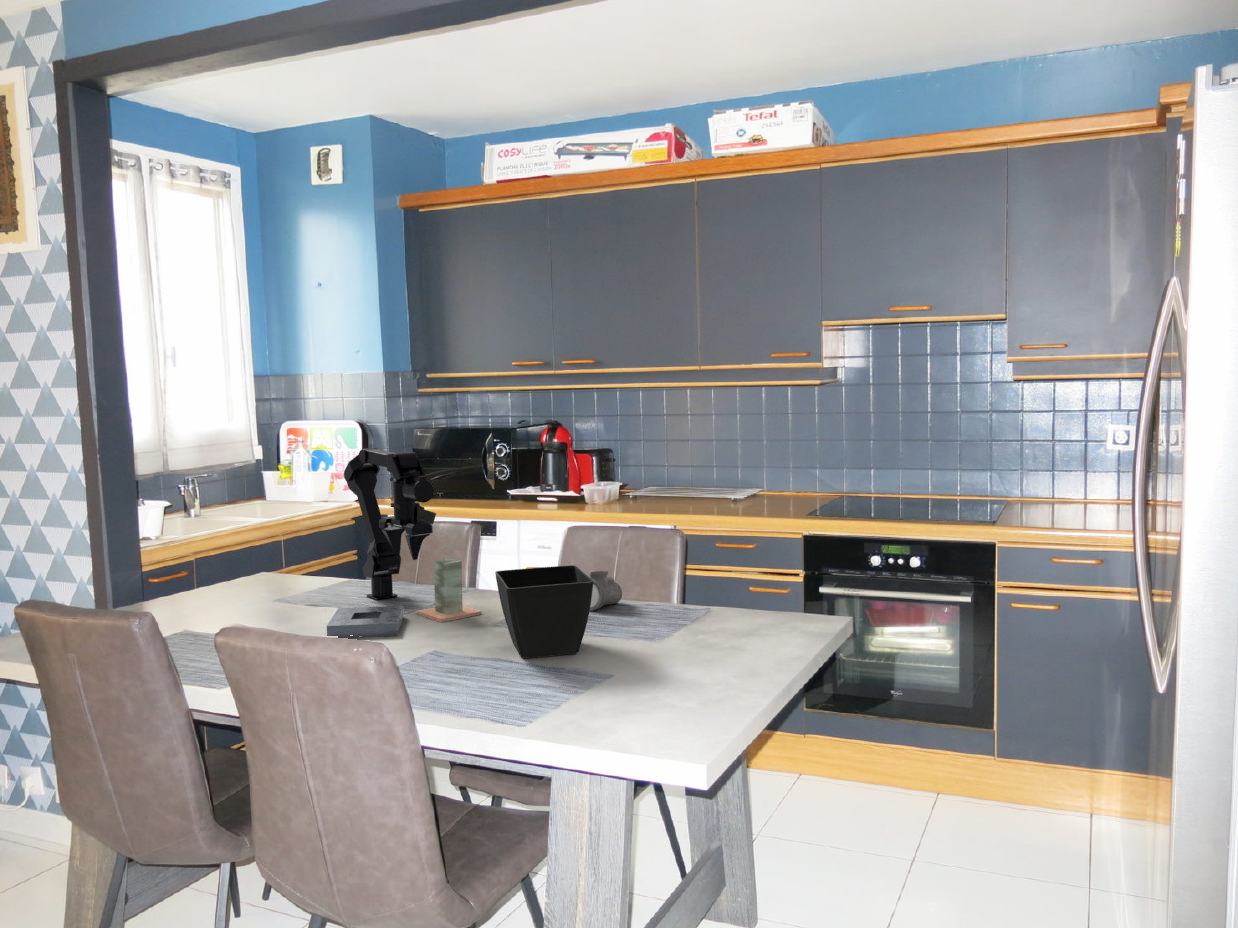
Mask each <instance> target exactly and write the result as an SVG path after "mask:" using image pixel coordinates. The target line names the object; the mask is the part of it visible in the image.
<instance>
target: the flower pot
mask: <svg viewBox="0 0 1238 928" xmlns="http://www.w3.org/2000/svg"><path fill="white" fill-rule="evenodd" d="M495 579H496V580H495V581H496V587H497V590H498V597H499V599H500V601H499V602H500V605H501V608H502V612H503V616H504V617H503V618H504V620H505V624H506V626H507V630H508V634H509V636H510V639H511V641H512V644H513V646H514V647H515V649H516V651H517V653H518V655H519V657H520V658H521V659H531V658H532V659H534V658H543V657H544V658H545V657H552V656H555V657H556V656H562V655H564V656H565V655H575V654H578V653H579V651H580V649H581V646H582V642H583V638H584V635H585V632H586V629H587V626H588V625H587V624H588V621H589V620H588V619H589V617H590V616H589V615H590V612H591V611H590V605H591V599H592V591H593V580H592V579H591V578H590V576H588V575H587V573H585V572H584V571H583V570H582V569H580V567H578V566H577V565H572V564H571V565H558V566H557V565H556V566H555V565H554V566H545V567H544V566H543V567H541V566H540V568H527V569H525V568H520V569H519V568H517V569H505V570H497V571H495Z"/></svg>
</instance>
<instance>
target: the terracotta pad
mask: <svg viewBox="0 0 1238 928" xmlns="http://www.w3.org/2000/svg"><path fill="white" fill-rule="evenodd" d="M415 612H416V613H415V614H417V615H420V616H421V617H422V616H423V617H425V618H427V619H428V618H429V619H431V620H434V621H436V622H439V623H445V622H450V621H454V620H459V619H464V618H470V617H474V616H479V615H482V610H480V609H479V610H478V609H475V608H472V607H469V606H466V605H463V611H459V612H455V613H450V614H444V613H440V612H437V611H435V606H434V607H430V608H429V607H428V608H424V609H417V610H416V611H415Z"/></svg>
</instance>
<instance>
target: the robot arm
mask: <svg viewBox="0 0 1238 928" xmlns="http://www.w3.org/2000/svg"><path fill="white" fill-rule="evenodd" d="M380 467H384V468H386V471H387V472H389V473H391V475H392V476H391V477H390V478H389V481H390V482H392V488H393V489H392V490H393V493H392V494H393V495H392V497H393V502H391V503H390V507H391V508H393V515H392V516H391V515H390V516H383V517H382V514H381V510H380V506H379V504H378V498H377V496H376V492H375V489H376V486H377V483H378V477H377V476H378V475H379V473H380V471H381V468H380ZM425 472H426V470H425V468H424V467H423V466H422V463H421V461H420V458H419V456H418V455H417V453H416V452H414V451H404V452H403V451H402V452H401V451H400V452H394V451H393V452H392V451H387V450H383V449H379V448H377V447H371V448H369V447H368V448H367V447H365V448H362V449H360V450H359V452H358V454H357V455H356V456H355V457H353V458H352V459H350V461H348V463H347V464H346V466H345V469H344V472H343V478H344V480H345V482H346V485H347V486H348V487H347V488H348V489H349V490H350V491H351V492H352V493H353V494H354V495H355V496H356V497H357V500H358V504H359V508H360V512H361V515H362V517H363V518H362V519H363V522H364V526H365V528H366V529H365V530H366V534H367V537H368V540H369V546H368V549H367V552H366V556H367V560H366V561H365V564H364V565H363V566H362V573H363V576H364V577H367V578H370V587H371V590H370V591H371V593H369V594H365V595H366V597H368V598H371V599H373V600H375V601H378V600H385V599H391V598H395V597H399V596H398V594H396V593H394V592H393V588H394V587H393V575H399V574H400V569H401V563H402V556H401V549H402V548H401V545H402V535H403V534H404V532H405V533H406V534H404V536H405V539H406V543H407V546H408V549H409V552H410V555H411V558H412V560H413V561H415V560H418V557H419V554H420V551H421V548H422V544H423V542H424V540H425V539H426V538H427V537H429V536H431V535H430V534H433V532H434V529H433V525H434V523H435V520H436V516H437V512H434V511H430V510H426V509H425V507H424V506H422V505H421V504H420V503H427V502H429V501H431V499H432V498H433V496H434V491H435V490H434V487H433V485H432V483H431V482H429V481H428V480H427V476H426V474H425Z"/></svg>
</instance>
